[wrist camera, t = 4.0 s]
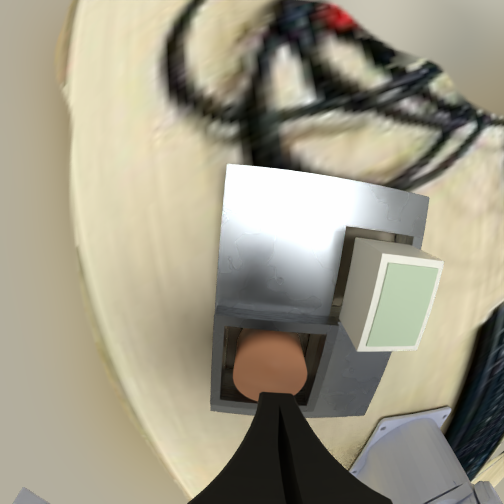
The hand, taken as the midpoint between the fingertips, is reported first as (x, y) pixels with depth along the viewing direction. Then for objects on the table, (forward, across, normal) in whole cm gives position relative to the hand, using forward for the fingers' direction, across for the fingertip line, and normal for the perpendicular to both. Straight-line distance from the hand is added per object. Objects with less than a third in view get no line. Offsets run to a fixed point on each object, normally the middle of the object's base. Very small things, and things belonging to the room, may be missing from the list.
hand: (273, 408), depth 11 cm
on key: (+3, -4, -5) cm, 7 cm away
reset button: (+5, 0, 0) cm, 5 cm away
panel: (+6, -2, -3) cm, 6 cm away
